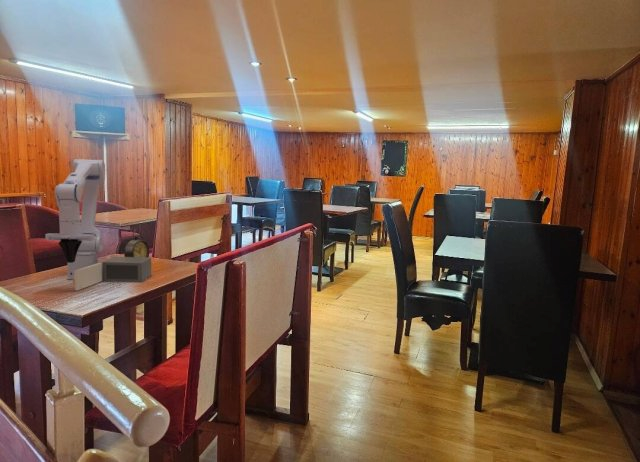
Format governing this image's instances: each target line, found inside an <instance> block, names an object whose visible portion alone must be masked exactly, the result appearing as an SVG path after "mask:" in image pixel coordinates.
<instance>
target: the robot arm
mask: <svg viewBox="0 0 640 462" xmlns="http://www.w3.org/2000/svg"><path fill="white" fill-rule="evenodd" d="M105 177H106V164H105V161H104V160H103V159H83V158H75V159H74V160H73V161H72V172H71V173H69V174H68V175H67V177H66V178H65V179H64V181H63V183H59V184H58V185H56V186H55V190H54V197H55V200H56V206H57V208H58V218H59V219H58V220H59V232H58V233H57V232H56V233H54V232H53V233H51V232H50V233H45V236H44V237H45V240H46V241H49V240H50V241H51V240H53V241H59V242H58V245H59V247H60V248H61V249H62V251H63V253H64V255H65V258H66V265H67V277H66V279H67V280H72V279H73V278H74V271H75V270H78V269H81V268H85V267H88V266H91V265H94V264H97V263H99V253H101V252H102V250H103V242H104V240H103V234H102V232H101V230H99V229H98V228H97V227H96V218H97V217H96V215H97V206H98V205H97V204H98V195H99V188H100V186H101V185H103V184H105V179H106V178H105ZM82 195H83V196H82ZM81 201H82V205H81V211H80V202H81ZM80 212H81V213H80Z"/></svg>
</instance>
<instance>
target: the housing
mask: <svg viewBox="0 0 640 462" xmlns="http://www.w3.org/2000/svg"><path fill="white" fill-rule="evenodd" d="M101 263H102V265H103V281H102V282H121V283H122V282H123V283H124V282H126V283H127V282H128V283H143V282H145V280H147V279H148V278H151V276H152V257H149V258H145V257H125V256H111V257H110V258H108V259H105V260H103V261H101Z"/></svg>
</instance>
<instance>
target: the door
mask: <svg viewBox="0 0 640 462" xmlns="http://www.w3.org/2000/svg"><path fill="white" fill-rule="evenodd" d="M71 280H72V282H74V291H79V290H82V289H85V288H88V287H90V286H93V285H96V284H99V283H100V282H104V281H103V265H102V262H98V263H97V264H94V265H91V266H88V267H85V268H81V269H78V270H75V271H74V278H73V279H71Z"/></svg>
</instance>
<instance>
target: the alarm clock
mask: <svg viewBox="0 0 640 462" xmlns="http://www.w3.org/2000/svg"><path fill="white" fill-rule="evenodd" d="M135 232H137V234H136V235H135ZM132 234H133V237H134V239H132V240H130V241H129V242H127V244H126V245H125V247H124V253H123V255H124V256H123V257H145V258H150V247H149V245H148V243H147V241H146V240H144V239H138V236H139V230H138V229H134V230H133V233H132Z"/></svg>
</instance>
